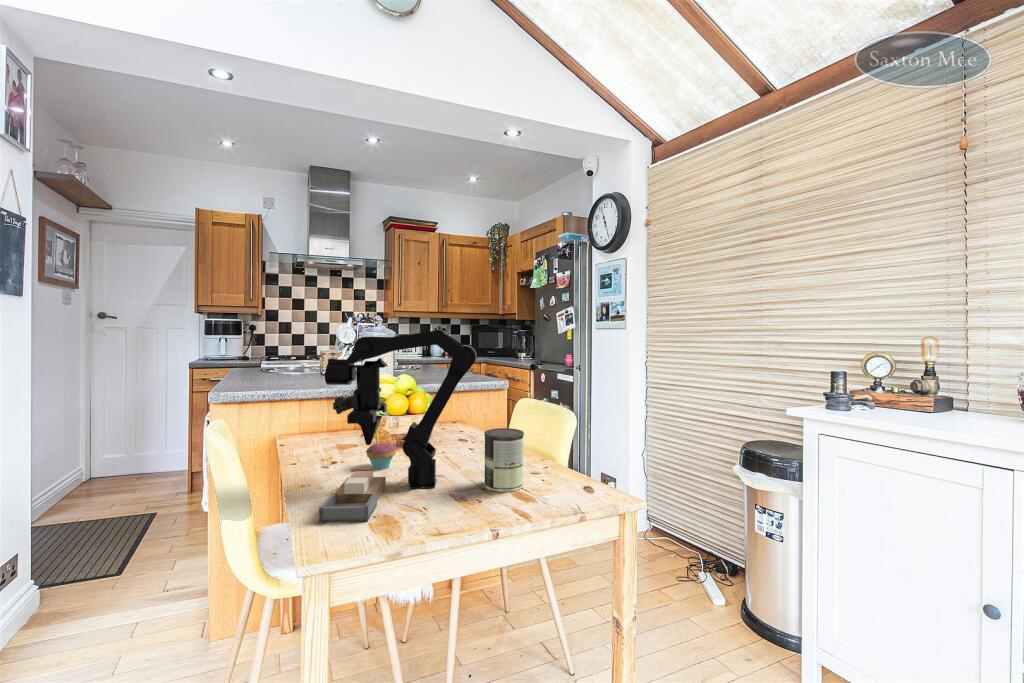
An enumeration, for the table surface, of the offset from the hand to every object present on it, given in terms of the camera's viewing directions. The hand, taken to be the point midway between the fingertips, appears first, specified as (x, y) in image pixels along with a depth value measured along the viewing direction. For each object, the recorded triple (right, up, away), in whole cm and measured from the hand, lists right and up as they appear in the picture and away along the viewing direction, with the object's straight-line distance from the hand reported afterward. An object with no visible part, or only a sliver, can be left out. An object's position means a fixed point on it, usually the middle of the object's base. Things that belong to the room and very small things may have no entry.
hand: (368, 444), depth 126 cm
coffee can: (+35, -11, 0) cm, 37 cm away
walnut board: (0, -11, -8) cm, 13 cm away
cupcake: (-1, -10, +17) cm, 20 cm away
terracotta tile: (0, -8, -7) cm, 11 cm away
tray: (+2, -11, -19) cm, 22 cm away
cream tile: (+1, -8, -12) cm, 14 cm away
